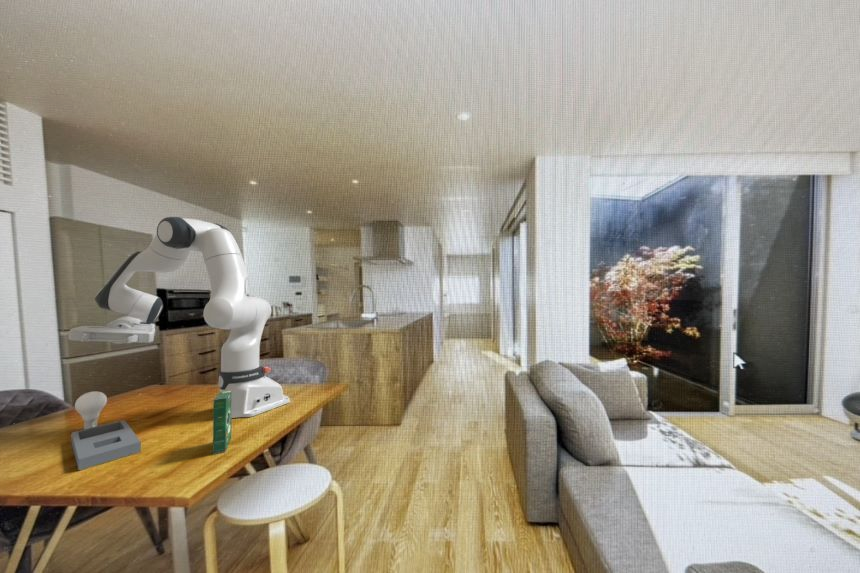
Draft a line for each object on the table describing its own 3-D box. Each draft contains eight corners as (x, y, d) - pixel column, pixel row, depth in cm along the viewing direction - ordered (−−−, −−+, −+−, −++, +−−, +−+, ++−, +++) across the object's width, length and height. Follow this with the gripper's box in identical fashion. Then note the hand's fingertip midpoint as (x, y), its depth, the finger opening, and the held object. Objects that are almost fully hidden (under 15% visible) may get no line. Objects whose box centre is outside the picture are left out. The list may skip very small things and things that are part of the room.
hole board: (124, 428, 88) (124, 419, 88) (140, 451, 74) (141, 441, 74) (71, 441, 80) (71, 432, 80) (78, 471, 66) (78, 459, 66)
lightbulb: (109, 423, 92) (110, 387, 93) (102, 430, 87) (103, 392, 88) (79, 428, 89) (80, 391, 89) (69, 436, 84) (70, 396, 84)
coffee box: (219, 440, 79) (219, 390, 79) (232, 438, 80) (232, 389, 80) (211, 454, 71) (212, 399, 72) (225, 452, 72) (226, 397, 73)
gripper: (81, 319, 101) (58, 328, 89) (160, 324, 112) (149, 332, 100) (78, 338, 101) (55, 348, 89) (157, 340, 112) (146, 350, 100)
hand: (105, 340), depth 95 cm, fingers open, 8 cm apart
